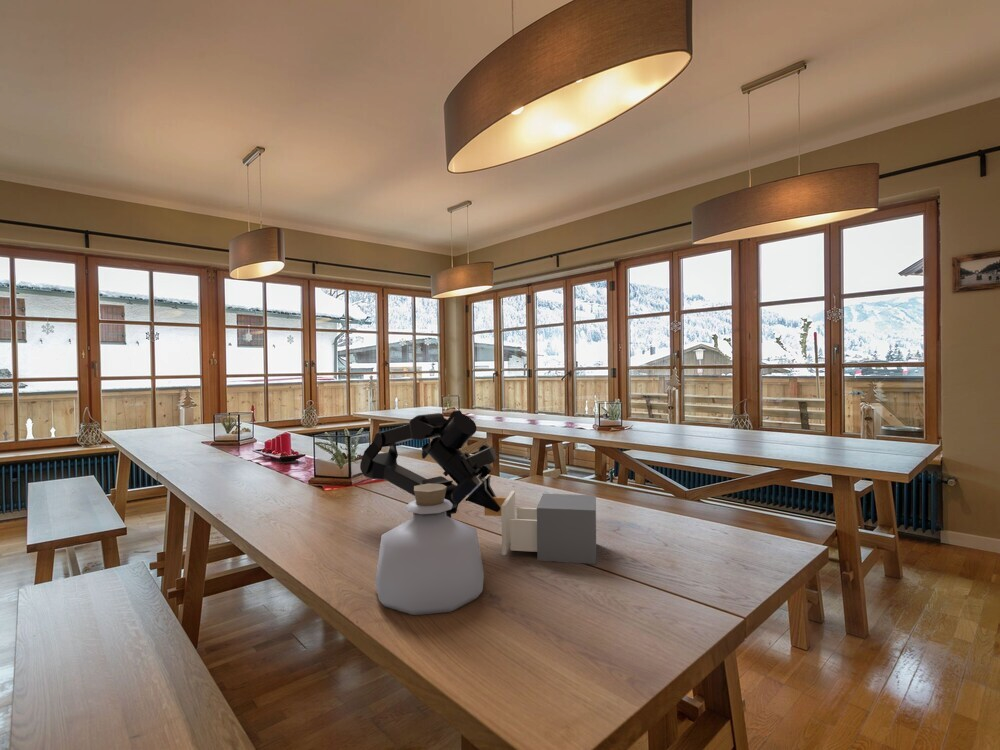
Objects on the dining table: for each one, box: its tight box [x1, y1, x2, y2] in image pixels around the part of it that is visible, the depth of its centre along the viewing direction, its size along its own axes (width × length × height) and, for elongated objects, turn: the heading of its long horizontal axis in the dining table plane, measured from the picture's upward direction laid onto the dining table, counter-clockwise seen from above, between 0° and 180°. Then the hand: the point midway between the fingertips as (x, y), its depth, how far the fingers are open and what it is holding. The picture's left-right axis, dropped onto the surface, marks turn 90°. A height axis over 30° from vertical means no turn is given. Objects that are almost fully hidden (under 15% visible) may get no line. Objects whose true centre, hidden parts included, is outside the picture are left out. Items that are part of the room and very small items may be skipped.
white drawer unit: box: [483, 490, 537, 556], centre depth 110 cm, size 17×13×10 cm
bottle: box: [374, 483, 485, 616], centre depth 91 cm, size 20×20×19 cm
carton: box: [536, 493, 597, 565], centre depth 109 cm, size 12×12×11 cm
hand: (499, 509), depth 111 cm, fingers closed
